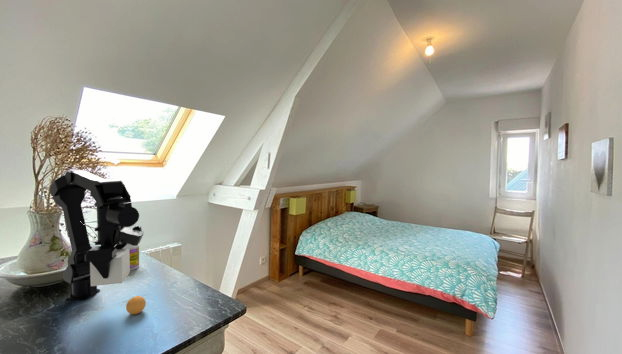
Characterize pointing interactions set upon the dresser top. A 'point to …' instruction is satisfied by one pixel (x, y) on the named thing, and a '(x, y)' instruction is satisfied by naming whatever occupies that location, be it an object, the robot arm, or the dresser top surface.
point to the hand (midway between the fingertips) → (110, 272)
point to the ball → (135, 305)
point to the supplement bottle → (133, 255)
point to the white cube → (113, 270)
